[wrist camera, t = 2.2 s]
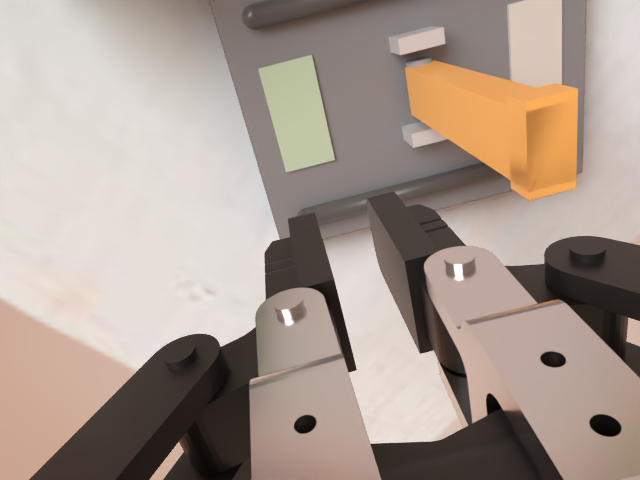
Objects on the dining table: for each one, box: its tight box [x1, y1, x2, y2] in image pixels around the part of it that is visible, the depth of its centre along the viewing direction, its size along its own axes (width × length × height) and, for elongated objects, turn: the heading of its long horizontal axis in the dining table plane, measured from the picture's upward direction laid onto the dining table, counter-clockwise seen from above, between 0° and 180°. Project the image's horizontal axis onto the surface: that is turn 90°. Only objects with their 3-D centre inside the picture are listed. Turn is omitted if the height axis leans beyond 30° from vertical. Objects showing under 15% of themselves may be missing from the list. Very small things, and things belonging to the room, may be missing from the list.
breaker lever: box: [405, 56, 578, 201], centre depth 21 cm, size 2×3×14 cm, turn 13°
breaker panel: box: [209, 0, 586, 239], centre depth 28 cm, size 20×16×4 cm
